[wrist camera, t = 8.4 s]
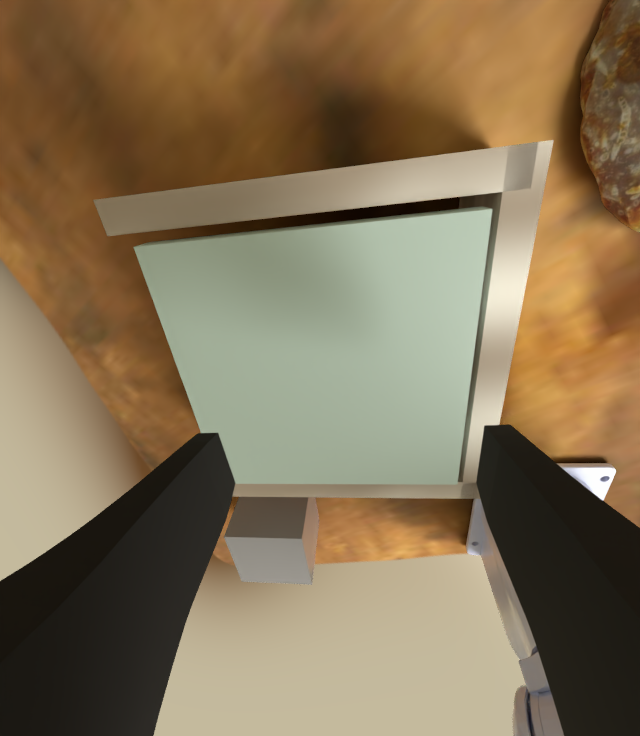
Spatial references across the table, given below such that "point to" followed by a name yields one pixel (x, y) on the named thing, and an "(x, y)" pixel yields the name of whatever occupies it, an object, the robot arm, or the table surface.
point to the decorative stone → (614, 110)
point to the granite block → (274, 539)
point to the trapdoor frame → (376, 188)
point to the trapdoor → (328, 343)
